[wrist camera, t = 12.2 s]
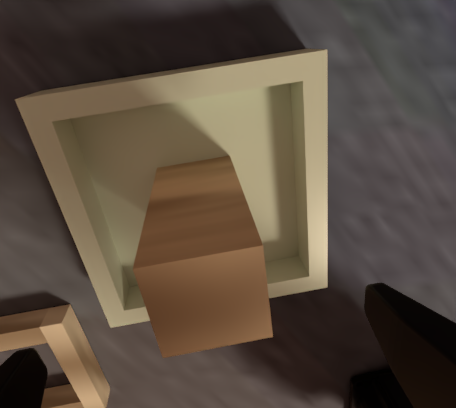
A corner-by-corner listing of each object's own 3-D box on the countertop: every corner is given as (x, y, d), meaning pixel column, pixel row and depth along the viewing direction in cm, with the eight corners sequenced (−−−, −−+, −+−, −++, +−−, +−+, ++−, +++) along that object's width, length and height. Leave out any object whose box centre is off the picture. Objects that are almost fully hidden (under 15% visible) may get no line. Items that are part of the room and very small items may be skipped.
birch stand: (110, 388, 23) (105, 409, 22) (-5, 410, 23) (-17, 433, 22) (70, 304, 20) (61, 323, 18) (-67, 329, 20) (-85, 350, 18)
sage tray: (312, 260, 20) (327, 287, 18) (119, 295, 20) (110, 327, 18) (306, 48, 15) (327, 49, 13) (41, 90, 14) (14, 99, 12)
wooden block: (238, 218, 18) (273, 337, 11) (172, 230, 18) (163, 357, 11) (229, 155, 16) (262, 245, 9) (157, 167, 16) (132, 268, 9)
